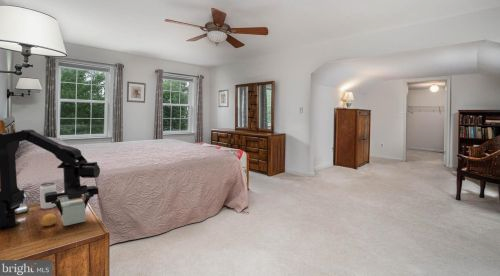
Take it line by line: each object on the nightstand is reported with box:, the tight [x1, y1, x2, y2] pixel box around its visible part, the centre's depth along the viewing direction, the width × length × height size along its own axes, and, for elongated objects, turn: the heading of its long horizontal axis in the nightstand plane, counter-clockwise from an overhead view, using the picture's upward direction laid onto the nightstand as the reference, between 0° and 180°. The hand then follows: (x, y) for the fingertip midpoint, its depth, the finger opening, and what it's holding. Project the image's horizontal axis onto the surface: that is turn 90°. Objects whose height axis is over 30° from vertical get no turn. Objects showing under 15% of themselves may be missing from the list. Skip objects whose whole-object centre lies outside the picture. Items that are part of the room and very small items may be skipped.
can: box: [39, 182, 57, 210], centre depth 127 cm, size 6×6×12 cm
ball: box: [41, 213, 57, 227], centre depth 107 cm, size 5×5×5 cm
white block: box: [60, 198, 87, 227], centre depth 109 cm, size 8×8×8 cm
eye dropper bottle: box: [59, 189, 74, 203], centre depth 130 cm, size 4×6×12 cm
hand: (73, 212), depth 109 cm, fingers closed on white block, 8 cm apart
